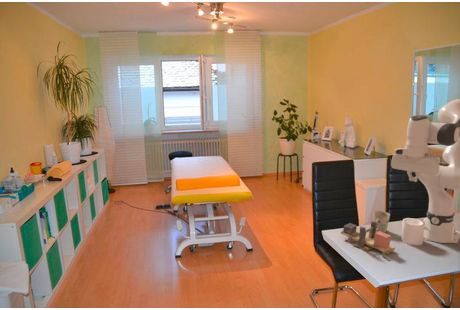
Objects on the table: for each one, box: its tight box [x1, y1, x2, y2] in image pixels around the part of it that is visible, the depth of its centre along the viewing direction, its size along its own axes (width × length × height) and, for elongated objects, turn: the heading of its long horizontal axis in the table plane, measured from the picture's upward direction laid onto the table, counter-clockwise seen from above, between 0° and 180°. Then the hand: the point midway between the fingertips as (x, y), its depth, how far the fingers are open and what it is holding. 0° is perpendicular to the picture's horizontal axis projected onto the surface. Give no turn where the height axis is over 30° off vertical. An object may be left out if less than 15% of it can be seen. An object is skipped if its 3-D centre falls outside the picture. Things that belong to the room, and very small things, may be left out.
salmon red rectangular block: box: [374, 231, 392, 249], centre depth 173 cm, size 6×4×6 cm, turn 40°
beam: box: [340, 222, 396, 255], centre depth 179 cm, size 26×9×7 cm, turn 39°
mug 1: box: [373, 210, 391, 233], centre depth 194 cm, size 8×13×10 cm, turn 140°
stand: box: [352, 220, 387, 258], centre depth 176 cm, size 16×13×11 cm
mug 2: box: [400, 217, 431, 246], centre depth 182 cm, size 14×10×11 cm
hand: (413, 181), depth 161 cm, fingers closed
